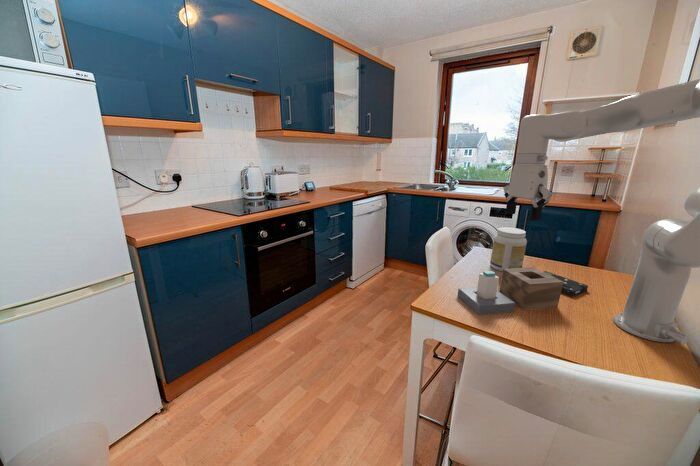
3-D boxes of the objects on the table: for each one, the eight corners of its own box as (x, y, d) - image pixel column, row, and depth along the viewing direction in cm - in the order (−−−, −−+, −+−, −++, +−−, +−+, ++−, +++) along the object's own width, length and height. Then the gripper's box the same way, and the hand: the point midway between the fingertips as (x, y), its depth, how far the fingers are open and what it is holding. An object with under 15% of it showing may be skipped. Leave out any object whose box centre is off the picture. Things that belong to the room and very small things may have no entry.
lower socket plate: (513, 311, 89) (515, 302, 88) (478, 314, 87) (480, 305, 86) (488, 293, 100) (490, 285, 99) (457, 295, 98) (458, 287, 97)
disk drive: (586, 292, 104) (543, 276, 116) (588, 285, 103) (545, 270, 115) (572, 298, 99) (529, 281, 111) (574, 291, 98) (530, 275, 110)
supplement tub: (521, 266, 125) (528, 229, 120) (521, 276, 115) (529, 235, 110) (490, 260, 131) (496, 225, 126) (488, 269, 121) (494, 231, 116)
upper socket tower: (557, 307, 92) (563, 281, 89) (524, 310, 90) (530, 284, 87) (528, 290, 103) (533, 267, 101) (499, 292, 101) (503, 268, 98)
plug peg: (494, 305, 92) (499, 274, 89) (483, 307, 91) (488, 275, 88) (486, 299, 96) (490, 269, 93) (475, 300, 95) (479, 270, 92)
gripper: (568, 160, 77) (557, 222, 81) (518, 159, 93) (511, 211, 97) (544, 160, 75) (534, 223, 79) (498, 160, 91) (492, 212, 96)
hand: (521, 217), depth 88 cm, fingers open, 9 cm apart
